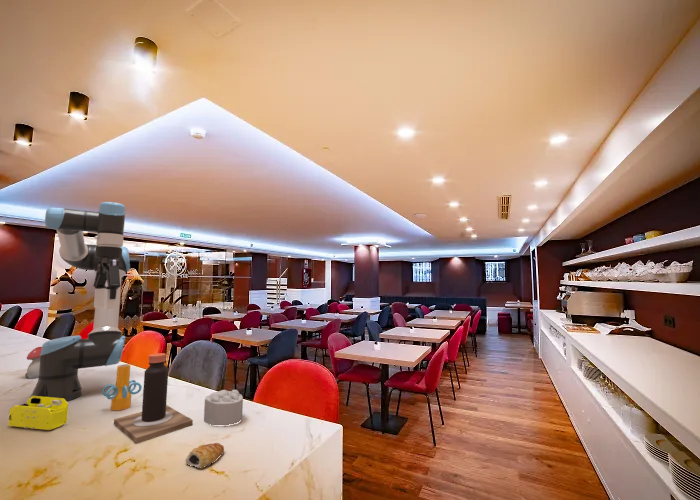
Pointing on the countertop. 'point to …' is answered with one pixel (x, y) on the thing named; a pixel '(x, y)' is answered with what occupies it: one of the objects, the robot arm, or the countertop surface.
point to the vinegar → (155, 388)
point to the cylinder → (121, 389)
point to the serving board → (151, 425)
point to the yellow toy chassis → (39, 413)
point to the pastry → (204, 455)
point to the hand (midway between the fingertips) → (104, 308)
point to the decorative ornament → (34, 363)
